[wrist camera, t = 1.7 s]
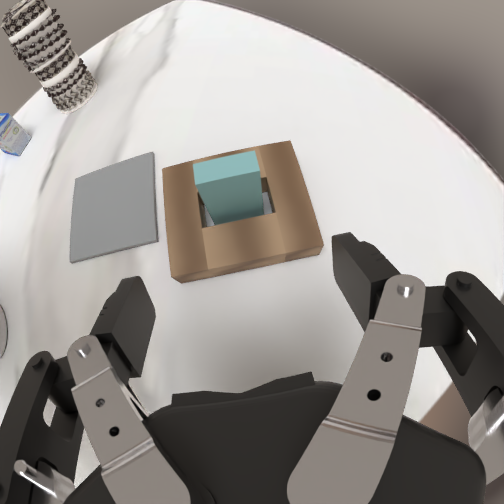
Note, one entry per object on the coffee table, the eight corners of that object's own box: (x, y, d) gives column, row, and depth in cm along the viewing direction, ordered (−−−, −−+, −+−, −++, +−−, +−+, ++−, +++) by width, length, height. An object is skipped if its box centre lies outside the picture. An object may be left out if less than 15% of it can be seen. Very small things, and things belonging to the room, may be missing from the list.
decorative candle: (107, 85, 40) (50, -19, 16) (70, 121, 38) (-3, 21, 14) (86, 77, 42) (35, -11, 18) (53, 109, 40) (-10, 25, 16)
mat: (72, 263, 30) (69, 261, 29) (77, 180, 34) (75, 178, 33) (158, 241, 30) (156, 239, 29) (154, 154, 33) (152, 151, 33)
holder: (181, 283, 28) (171, 277, 25) (170, 182, 32) (162, 168, 29) (318, 254, 28) (323, 244, 25) (289, 156, 32) (290, 140, 29)
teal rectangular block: (216, 228, 30) (195, 184, 21) (213, 211, 30) (192, 164, 22) (264, 218, 30) (259, 170, 21) (260, 201, 30) (254, 150, 22)
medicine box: (5, 153, 39) (-19, 131, 31) (16, 135, 40) (-7, 112, 32) (20, 156, 37) (-7, 132, 29) (32, 137, 39) (7, 111, 30)
